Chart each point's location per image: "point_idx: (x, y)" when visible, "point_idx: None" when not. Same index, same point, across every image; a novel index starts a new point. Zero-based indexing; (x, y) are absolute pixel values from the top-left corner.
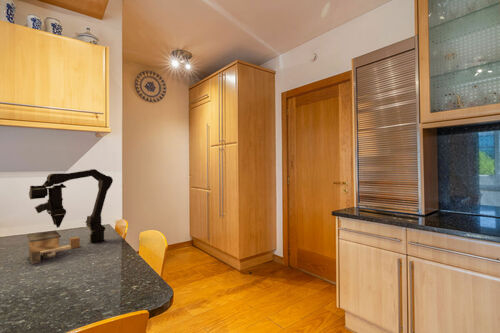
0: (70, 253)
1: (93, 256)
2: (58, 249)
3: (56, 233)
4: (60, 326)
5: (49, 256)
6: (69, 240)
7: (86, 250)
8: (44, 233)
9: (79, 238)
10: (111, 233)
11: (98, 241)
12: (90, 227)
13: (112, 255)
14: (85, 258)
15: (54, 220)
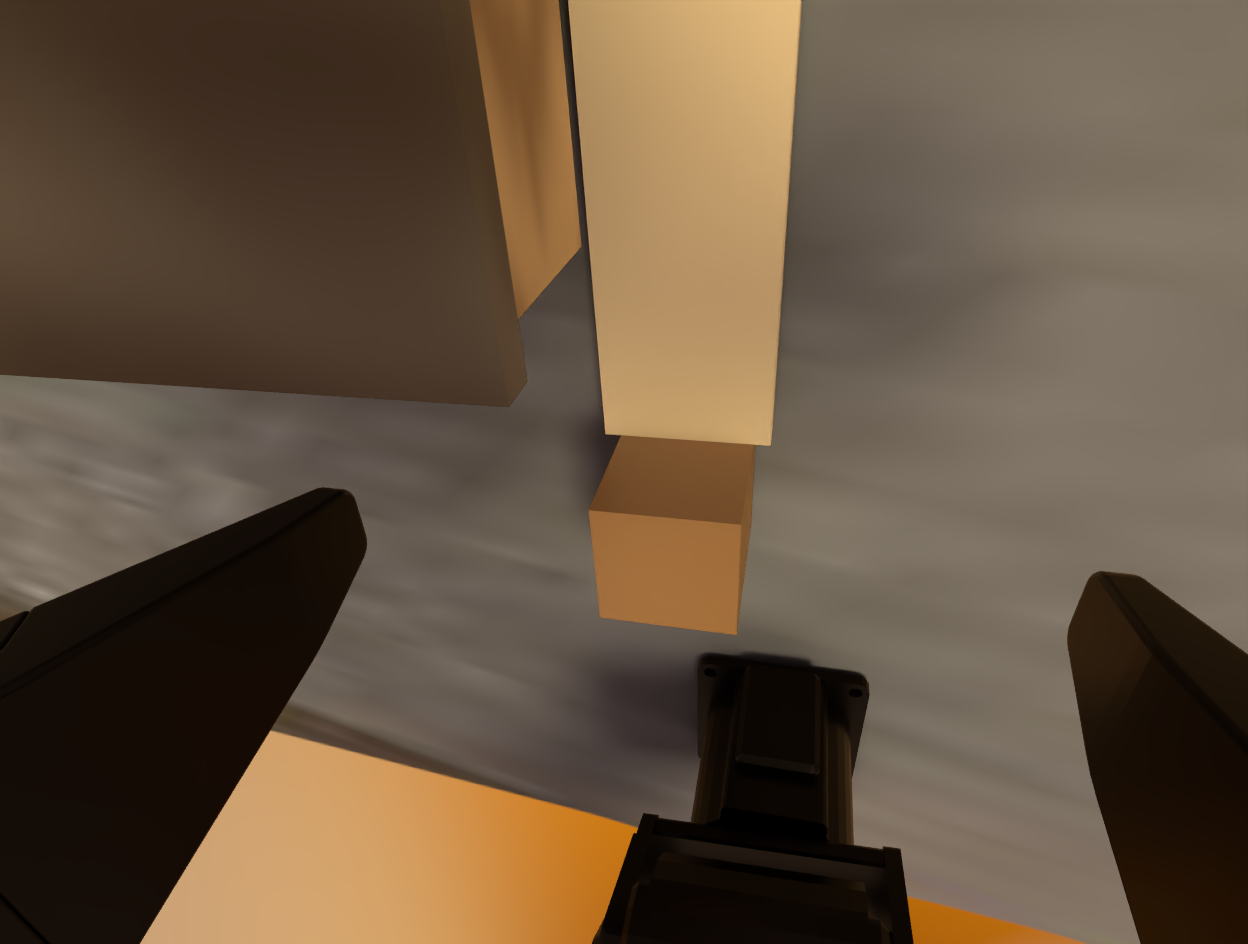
0: None
1: (131, 486)
2: (590, 256)
3: (26, 339)
4: None
5: None
6: (735, 494)
7: (413, 515)
8: (153, 24)
9: (602, 609)
10: (1082, 923)
11: (708, 713)
12: (651, 881)
13: None
14: (86, 417)
15: (1191, 775)
